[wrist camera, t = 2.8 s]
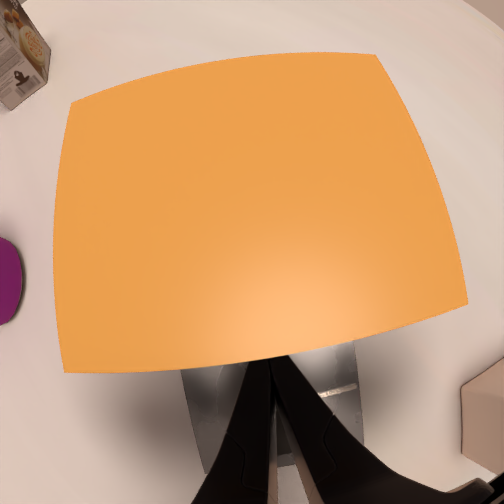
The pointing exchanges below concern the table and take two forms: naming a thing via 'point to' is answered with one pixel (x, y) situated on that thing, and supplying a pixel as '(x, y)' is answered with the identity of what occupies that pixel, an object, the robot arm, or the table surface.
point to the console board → (229, 382)
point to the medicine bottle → (484, 419)
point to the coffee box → (20, 55)
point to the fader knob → (245, 216)
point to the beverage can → (9, 280)
